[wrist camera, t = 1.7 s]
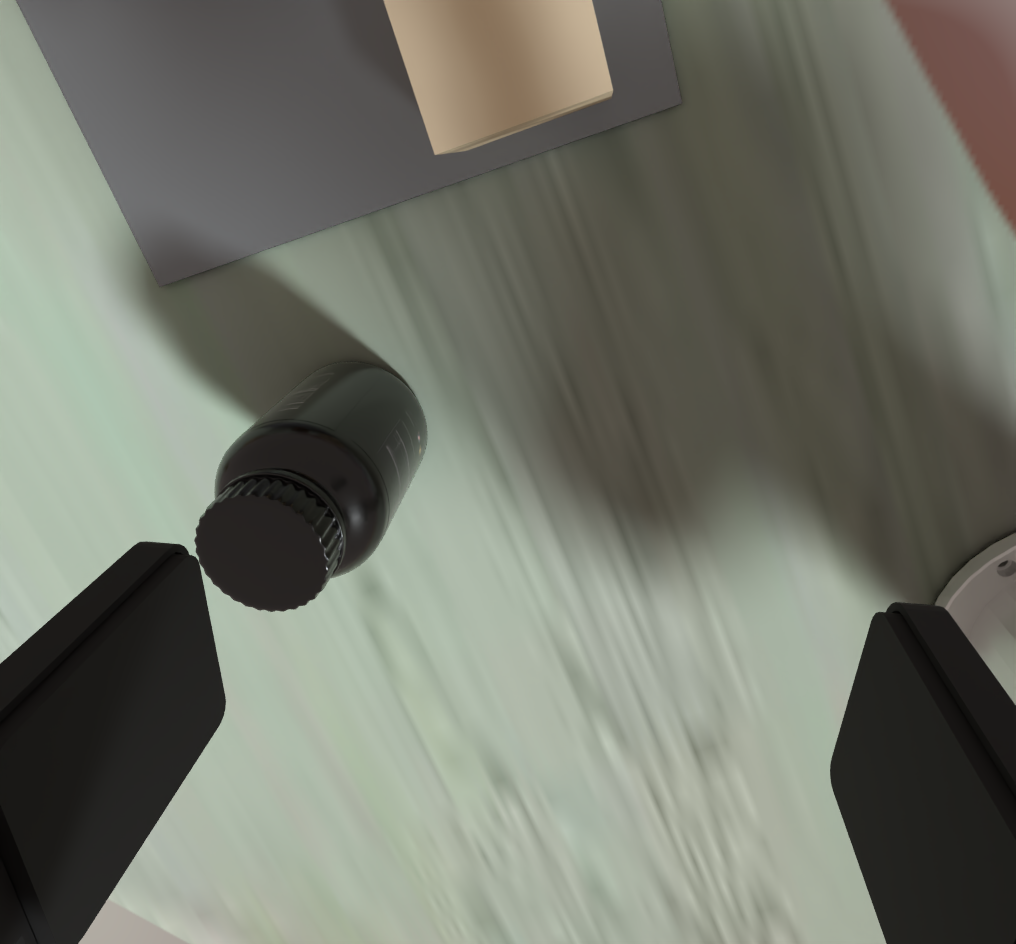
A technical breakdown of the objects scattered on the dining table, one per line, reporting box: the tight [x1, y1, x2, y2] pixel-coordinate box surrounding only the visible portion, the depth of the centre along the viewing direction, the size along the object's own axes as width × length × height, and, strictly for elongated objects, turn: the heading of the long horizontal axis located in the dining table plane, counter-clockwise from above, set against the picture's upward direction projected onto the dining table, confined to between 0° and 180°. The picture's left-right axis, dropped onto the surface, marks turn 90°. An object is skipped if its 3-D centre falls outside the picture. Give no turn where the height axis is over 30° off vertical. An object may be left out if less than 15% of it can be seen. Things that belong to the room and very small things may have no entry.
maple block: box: [383, 0, 613, 155], centre depth 25 cm, size 6×6×6 cm
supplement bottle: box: [194, 362, 427, 612], centre depth 30 cm, size 7×7×12 cm
